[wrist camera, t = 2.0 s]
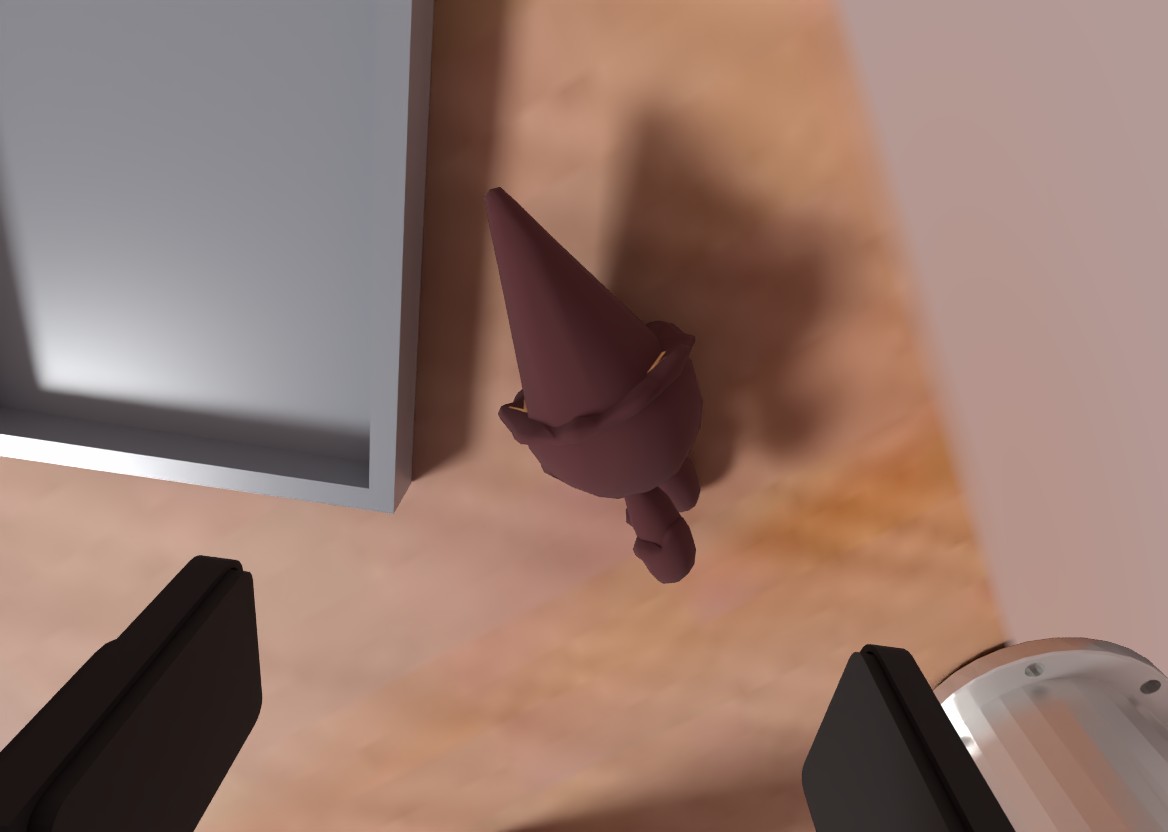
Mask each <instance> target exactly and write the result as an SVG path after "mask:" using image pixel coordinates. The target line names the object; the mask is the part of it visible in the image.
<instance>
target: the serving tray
mask: <svg viewBox="0 0 1168 832" xmlns="http://www.w3.org/2000/svg"><path fill="white" fill-rule="evenodd" d="M433 14H434V0H0V456H6V457H12V458H19V459H26V460H33V461H39V462H46V463H53V464H60V465H67V466H73V467H80V468H87V469H94V470H100V471H107V472H114V473H121V474H127V475H134V476H141V477H148V478H155V479H161V480H168V481H175V482H182V483H188V484H195V485H202V486H209V487H215V488H222V489H229V490H236V491H243V492H249V493H256V494H263V495H270V496H276V497H283V498H290V499H297V500H303V501H310V502H317V503H324V504H331V505H337V506H344V507H351V508H358V509H364V510H371V511H378V512H385V513H391V514H394V512H395V510H396V509H397V507H398V505H399V503H400V502H401V500H402V498H403V496H404V495H405V493H406V491H407V489H408V487H409V486H410V484H411V475H412V454H413V433H414V412H415V391H416V370H417V349H418V328H419V307H420V286H421V265H422V244H423V223H424V202H425V181H426V161H427V140H428V119H429V98H430V77H431V56H432V35H433Z"/></svg>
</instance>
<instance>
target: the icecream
mask: <svg viewBox="0 0 1168 832" xmlns="http://www.w3.org/2000/svg"><path fill="white" fill-rule="evenodd" d="M484 197H485V203H486V209H487V216H488V221H489V226H490V231H491V235H492V240H493V245H494V250H495V255H496V259H497V264H498V269H499V274H500V279H501V284H502V289H503V294H504V299H505V304H506V309H507V314H508V319H509V324H510V328H511V333H512V338H513V343H514V348H515V353H516V358H517V363H518V368H519V373H520V378H521V383H522V388H523V389H522V390H521V391H520V392H518V394H517V395H516V397H515V399H514V401H513V402H512V403H509V404H505V405H503V406H501V408H500V410H499V413H498V415H499V417H500V419H501V420H502V422H503V423H504V424H505V425H506V426H507V428H508V429H509V430H510V431H511V432H512V434H513V437H514V439H515V440H517V441H518V442H519V443H520V444H527V445H528V446H529V449H530V450H531V451H532V453H533V454H534V455H535V456H536V458H537V459H538V460H539V462H540V463H541V466H542V469H543V471H544V472H545V473H547V474H549V475H551V476H552V477H554V478H557V479H559V480H561V481H562V482H564V483H566V484H568V485H570V486H572V487H574V488H577V489H579V490H582V491H585V492H588V493H590V494H593V495H596V496H599V497H606V498H616V499H619V498H623V497H625V501H626V505H627V509H626V522H627V523H628V524H630V525H631V526H632V527H633V528H634V530H635V532H636V535H637V538H636V541H635V545H634V548H633V550H634V553H635V555H636V556H637V557H638V558H640V559H641V560H643V562H644V563H645V565H646V566H647V568H648V570H649V571H650V573H651V574H652V575H653V576H654V577H655V578H656V579H657V580H658V581H660V582H661V583H663V584H664V583H675V582H679V581H680V580H681V579H682V578H684V577H685V576H686V575H687V574H688V573H689V572H690V570H691V568H692V567H693V565H694V562H695V553H696V548H695V544H694V540H693V537H692V534H691V531H690V528H689V526H688V525H687V523H686V521H685V520H684V518H683V517H681V516H680V514H679V512H684V511H688V510H690V509H691V508H693V507H694V506H695V505H696V503H697V500H698V497H699V494H700V486H699V483H698V479H697V475H696V472H695V469H694V467H693V465H692V462H691V461H690V460H689V459H688V458H687V455H688V453H689V451H690V449H691V447H692V445H693V442H694V440H695V438H696V436H697V434H698V431H699V429H700V426H701V414H702V402H703V401H702V397H701V394H700V390H699V386H698V383H697V379H696V376H695V372H694V369H693V365H692V361H691V360H690V359H689V358H688V356H689V353H690V351H691V349H692V346H693V344H694V342H695V336H692V335H688V334H685V333H683V332H682V331H681V330H680V329H679V328H678V327H676V326H675V325H674V324H672V323H668V322H663V321H655V322H651V323H648V324H646V325H645V324H644V323H643V322H641V321H640V320H639V319H638V318H637V317H636V316H635V315H634V314H633V313H632V312H631V311H630V310H629V309H628V308H627V307H626V306H625V305H624V304H623V303H621V302H620V301H619V300H618V299H617V298H616V297H615V296H614V295H613V294H612V293H611V292H610V291H609V290H608V289H607V288H606V287H605V286H604V285H602V284H601V283H600V282H599V281H598V280H597V279H596V278H595V277H594V276H593V275H592V274H591V273H590V272H589V271H588V270H587V269H586V268H585V267H583V266H582V265H581V264H580V263H579V262H578V261H577V260H576V259H575V258H574V257H573V256H572V255H571V254H570V253H569V252H568V251H567V250H566V249H564V248H563V247H562V246H561V245H560V244H559V243H558V242H557V241H556V240H555V239H554V238H553V237H552V236H551V235H550V234H549V233H548V232H547V231H546V230H545V229H544V228H543V227H542V226H541V225H540V224H539V223H538V222H537V221H536V220H535V219H533V218H532V217H531V216H530V215H529V214H528V213H527V212H526V211H525V210H524V209H523V208H522V207H521V206H520V205H519V204H518V203H517V202H516V201H515V200H514V199H513V198H512V197H511V196H509V195H508V194H507V193H506V192H505V191H504V190H503V189H502V188H501V187H498V188H494V189H490V190H489V191H488V193H487V194H486V195H485V196H484Z"/></svg>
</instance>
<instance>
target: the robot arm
mask: <svg viewBox="0 0 1168 832" xmlns="http://www.w3.org/2000/svg"><path fill="white" fill-rule="evenodd" d="M261 705H262V688H261V675H260V663H259V650H258V638H257V626H256V613H255V601H254V588H253V578H252V575H251V573H250V572H247V571H243V568H242V565H241V563H240V562H239V561H237V560H232V559H224V558H217V557H209V556H202V555H199V556H196V557H194V558H193V559H192V560H190V561H189V562H188V563H187V565H186V566H185V567H184V568H183V569H182V570H181V571H180V572H179V573H178V574H177V575H176V576H175V577H174V578H173V579H172V581H171V582H170V583H169V584H168V585H167V586H166V587H165V588H164V589H163V590H162V591H161V592H160V593H159V594H158V595H157V597H156V598H155V599H154V600H153V601H152V602H151V603H150V604H149V605H148V606H147V607H146V608H145V609H144V610H143V612H142V613H141V614H140V615H139V616H138V617H137V618H136V619H135V620H134V621H133V622H132V623H131V624H130V625H129V626H128V628H127V629H126V630H125V631H124V632H123V633H122V634H121V635H120V636H119V637H118V638H117V639H115V640H113V641H111V642H108V643H106V644H105V645H104V646H102V647H101V648H100V649H99V650H98V651H97V652H95V653H94V654H93V656H92V657H91V658H90V659H89V660H88V661H87V662H86V663H85V664H84V665H83V666H82V667H81V668H80V669H79V670H78V671H77V672H76V673H75V674H74V675H73V677H72V678H71V679H70V680H69V681H68V682H67V683H66V684H65V685H64V686H63V687H62V688H61V689H60V690H59V691H58V692H57V693H56V694H55V695H54V696H53V698H52V699H51V700H50V701H49V702H48V703H47V704H46V705H45V706H44V707H43V708H42V709H41V710H40V711H39V712H38V713H37V714H36V715H35V716H34V717H33V719H32V720H31V721H30V722H29V723H28V724H27V725H26V726H25V727H24V728H23V729H22V730H21V731H20V732H19V733H18V734H17V735H16V736H15V737H14V738H13V740H12V741H11V742H10V743H9V744H8V745H7V746H6V747H5V748H4V749H3V750H2V751H1V752H0V832H193V831H194V830H195V828H196V826H197V824H198V823H199V821H200V819H201V817H202V816H203V814H204V812H205V811H206V809H207V807H208V805H209V804H210V802H211V800H212V798H213V797H214V795H215V793H216V791H217V790H218V788H219V786H220V784H221V783H222V781H223V779H224V777H225V776H226V774H227V772H228V770H229V769H230V767H231V765H232V763H233V762H234V760H235V758H236V756H237V755H238V753H239V751H240V749H241V748H242V746H243V744H244V742H245V741H246V739H247V737H248V735H249V734H250V732H251V730H252V728H253V727H254V725H255V723H256V721H257V719H258V716H259V713H260V709H261ZM802 784H803V790H804V794H805V797H806V800H807V803H808V807H809V810H810V813H811V816H812V820H813V823H814V826H815V829H816V832H1168V678H1167V677H1166V676H1165V675H1164V674H1163V673H1162V672H1161V671H1160V670H1159V669H1157V668H1156V667H1155V666H1154V665H1153V664H1152V663H1151V662H1150V661H1149V660H1148V659H1146V658H1145V657H1143V656H1141V655H1139V654H1138V653H1136V652H1134V651H1133V650H1131V649H1129V648H1126V647H1123V646H1120V645H1117V644H1114V643H1111V642H1107V641H1102V640H1095V639H1088V638H1049V639H1042V640H1035V641H1029V642H1024V643H1020V644H1017V645H1013V646H1010V647H1006V648H1003V649H1000V650H997V651H995V652H993V653H990V654H988V655H986V656H983V657H981V658H978V659H976V660H975V661H973V662H971V663H970V664H968V665H966V666H965V667H963V668H961V669H960V670H958V671H956V672H955V673H953V674H952V675H951V676H950V677H948V678H947V679H946V680H945V681H944V682H942V683H941V684H940V685H939V686H938V687H936V689H935V690H934V691H933V690H932V689H931V687H930V685H929V684H928V682H927V680H926V679H925V677H924V675H923V674H922V672H921V670H920V668H919V667H918V665H917V663H916V662H915V660H914V658H913V657H912V655H911V654H910V653H909V652H908V651H907V650H905V649H902V648H894V647H887V646H879V645H872V644H867V645H865V646H864V647H863V648H862V650H861V651H860V652H854V653H853V654H852V655H851V656H850V658H849V660H848V663H847V665H846V667H845V670H844V672H843V674H842V677H841V679H840V681H839V684H838V686H837V688H836V691H835V693H834V695H833V698H832V700H831V702H830V705H829V707H828V709H827V712H826V714H825V716H824V719H823V721H822V723H821V726H820V728H819V730H818V733H817V735H816V737H815V740H814V742H813V744H812V747H811V749H810V751H809V754H808V756H807V758H806V760H805V763H804V766H803V771H802Z"/></svg>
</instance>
